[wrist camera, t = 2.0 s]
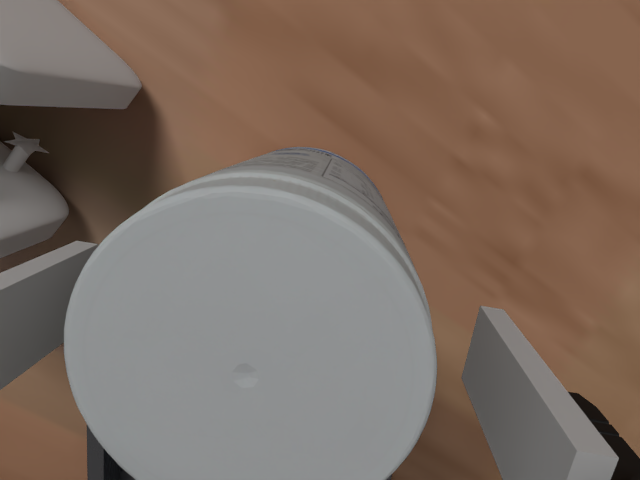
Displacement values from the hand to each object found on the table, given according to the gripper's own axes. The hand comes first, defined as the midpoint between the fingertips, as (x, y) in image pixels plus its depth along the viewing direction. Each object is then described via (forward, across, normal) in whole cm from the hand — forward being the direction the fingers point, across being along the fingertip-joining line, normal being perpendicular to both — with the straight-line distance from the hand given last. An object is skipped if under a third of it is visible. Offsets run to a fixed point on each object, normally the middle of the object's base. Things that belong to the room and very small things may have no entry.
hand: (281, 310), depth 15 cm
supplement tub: (+10, 0, 0) cm, 10 cm away
